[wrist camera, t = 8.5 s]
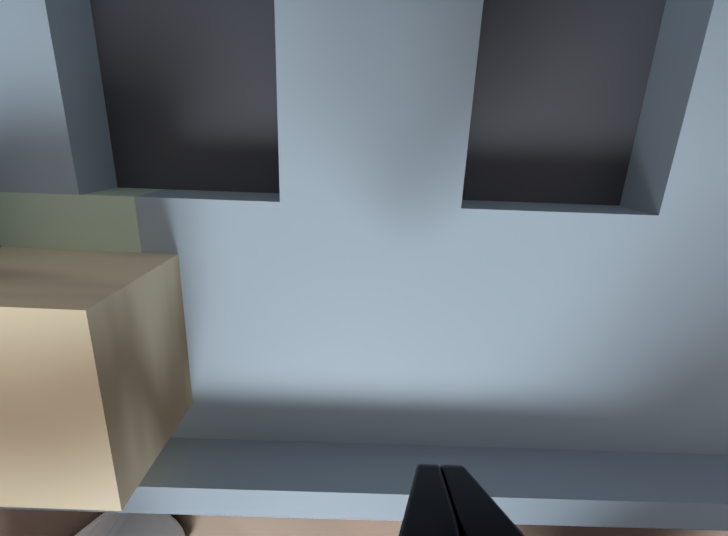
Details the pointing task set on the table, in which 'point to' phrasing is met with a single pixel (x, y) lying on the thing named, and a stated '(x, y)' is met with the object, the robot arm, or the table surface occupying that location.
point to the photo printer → (133, 525)
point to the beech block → (87, 373)
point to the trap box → (403, 241)
